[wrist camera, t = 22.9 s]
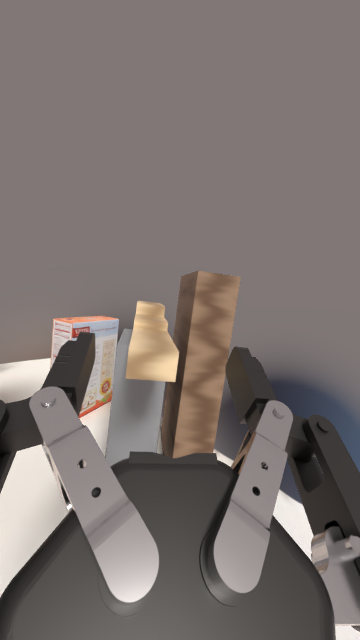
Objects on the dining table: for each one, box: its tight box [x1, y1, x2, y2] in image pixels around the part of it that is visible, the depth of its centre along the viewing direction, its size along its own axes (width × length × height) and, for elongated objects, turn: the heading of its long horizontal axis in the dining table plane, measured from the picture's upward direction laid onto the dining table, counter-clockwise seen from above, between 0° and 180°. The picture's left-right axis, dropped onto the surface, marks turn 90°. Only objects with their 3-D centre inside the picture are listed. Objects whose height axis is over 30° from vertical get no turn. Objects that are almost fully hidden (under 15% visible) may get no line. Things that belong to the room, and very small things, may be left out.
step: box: [106, 329, 165, 466], centre depth 37 cm, size 6×12×22 cm, turn 9°
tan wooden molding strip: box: [126, 301, 179, 382], centre depth 31 cm, size 4×24×5 cm, turn 9°
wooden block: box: [161, 271, 240, 458], centre depth 41 cm, size 6×14×32 cm, turn 9°
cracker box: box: [50, 316, 119, 418], centre depth 54 cm, size 14×6×21 cm, turn 156°
